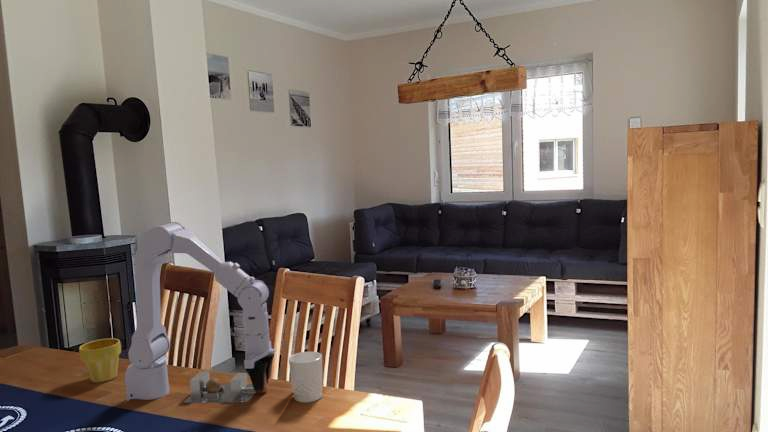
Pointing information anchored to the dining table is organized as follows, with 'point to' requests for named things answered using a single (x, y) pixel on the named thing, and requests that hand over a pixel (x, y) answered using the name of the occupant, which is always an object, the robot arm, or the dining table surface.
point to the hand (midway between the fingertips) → (261, 387)
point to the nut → (213, 385)
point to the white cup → (306, 376)
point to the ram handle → (244, 384)
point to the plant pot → (101, 358)
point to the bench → (223, 395)
